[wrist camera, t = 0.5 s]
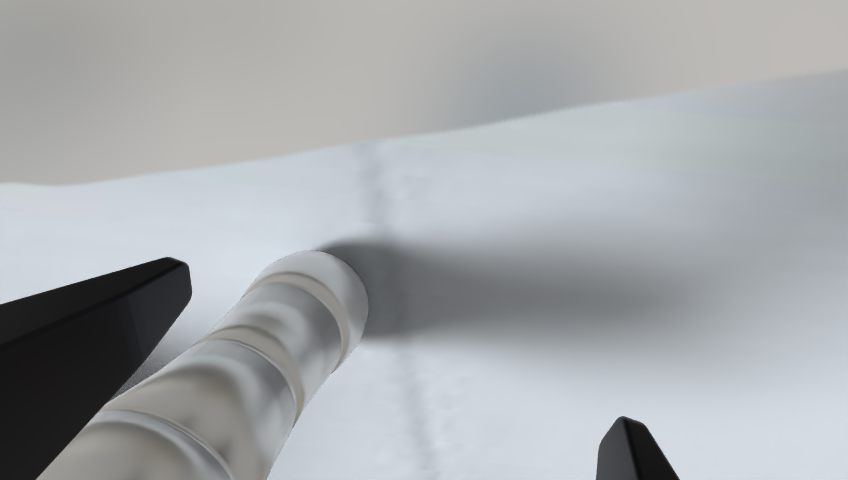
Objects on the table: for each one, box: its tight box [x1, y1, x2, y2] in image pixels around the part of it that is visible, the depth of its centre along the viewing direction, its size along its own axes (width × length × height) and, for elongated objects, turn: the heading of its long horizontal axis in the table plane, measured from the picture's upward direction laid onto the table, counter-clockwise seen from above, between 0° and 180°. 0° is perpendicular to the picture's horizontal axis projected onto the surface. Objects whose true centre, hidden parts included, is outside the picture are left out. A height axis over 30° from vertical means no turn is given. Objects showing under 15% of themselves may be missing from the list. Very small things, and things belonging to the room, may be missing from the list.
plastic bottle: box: [36, 250, 369, 480], centre depth 17 cm, size 6×7×20 cm
